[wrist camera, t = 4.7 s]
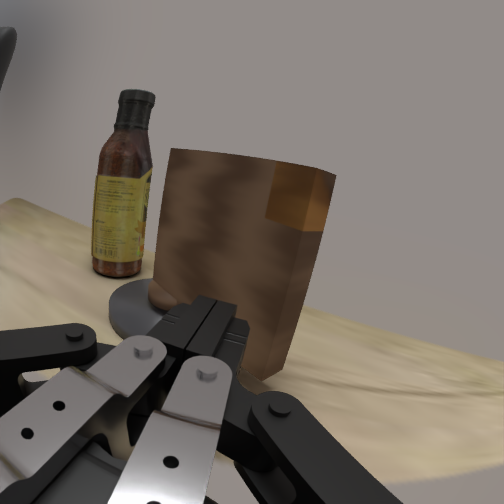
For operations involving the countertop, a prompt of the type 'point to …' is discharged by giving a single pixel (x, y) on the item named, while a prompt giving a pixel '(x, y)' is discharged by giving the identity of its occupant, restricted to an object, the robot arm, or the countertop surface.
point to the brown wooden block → (241, 242)
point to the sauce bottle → (123, 189)
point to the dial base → (133, 309)
